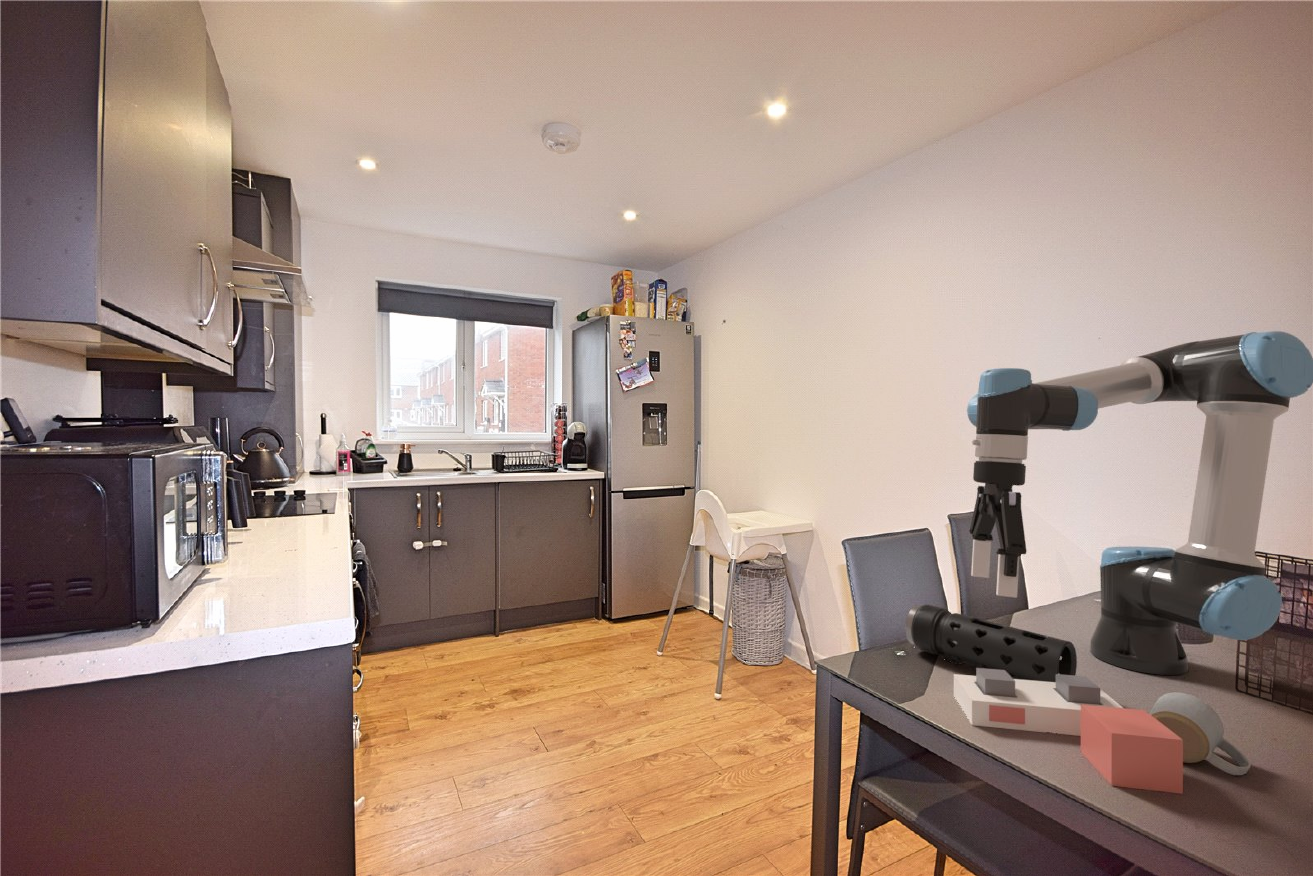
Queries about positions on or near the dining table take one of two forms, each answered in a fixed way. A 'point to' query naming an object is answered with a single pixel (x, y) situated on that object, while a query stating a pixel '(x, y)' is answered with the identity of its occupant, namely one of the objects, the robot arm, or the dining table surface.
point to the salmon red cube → (1132, 748)
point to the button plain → (1077, 689)
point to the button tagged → (995, 682)
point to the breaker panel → (1023, 707)
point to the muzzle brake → (989, 644)
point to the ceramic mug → (1198, 731)
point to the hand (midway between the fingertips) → (992, 586)
